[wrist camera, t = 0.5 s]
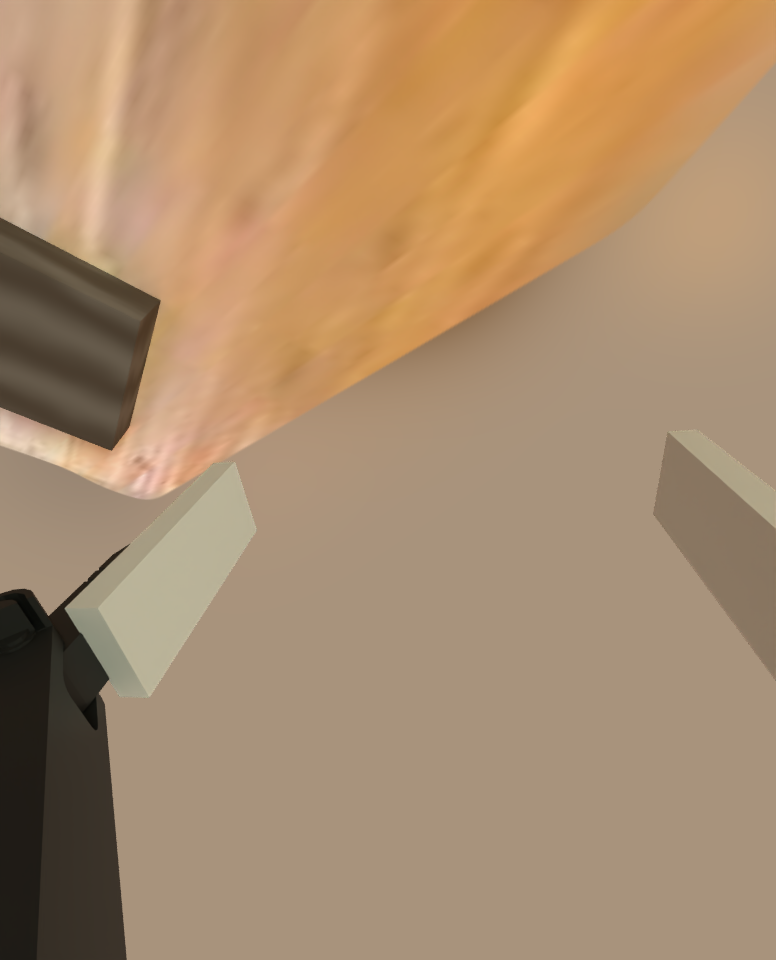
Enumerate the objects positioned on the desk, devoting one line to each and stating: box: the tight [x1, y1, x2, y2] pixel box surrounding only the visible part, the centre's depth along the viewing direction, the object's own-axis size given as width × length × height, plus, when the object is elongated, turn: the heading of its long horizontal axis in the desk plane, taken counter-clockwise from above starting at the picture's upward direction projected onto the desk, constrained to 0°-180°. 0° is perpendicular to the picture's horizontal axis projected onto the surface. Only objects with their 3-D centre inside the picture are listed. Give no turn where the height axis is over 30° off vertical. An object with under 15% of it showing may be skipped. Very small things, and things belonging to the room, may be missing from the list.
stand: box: [0, 218, 160, 451], centre depth 39 cm, size 16×16×4 cm
